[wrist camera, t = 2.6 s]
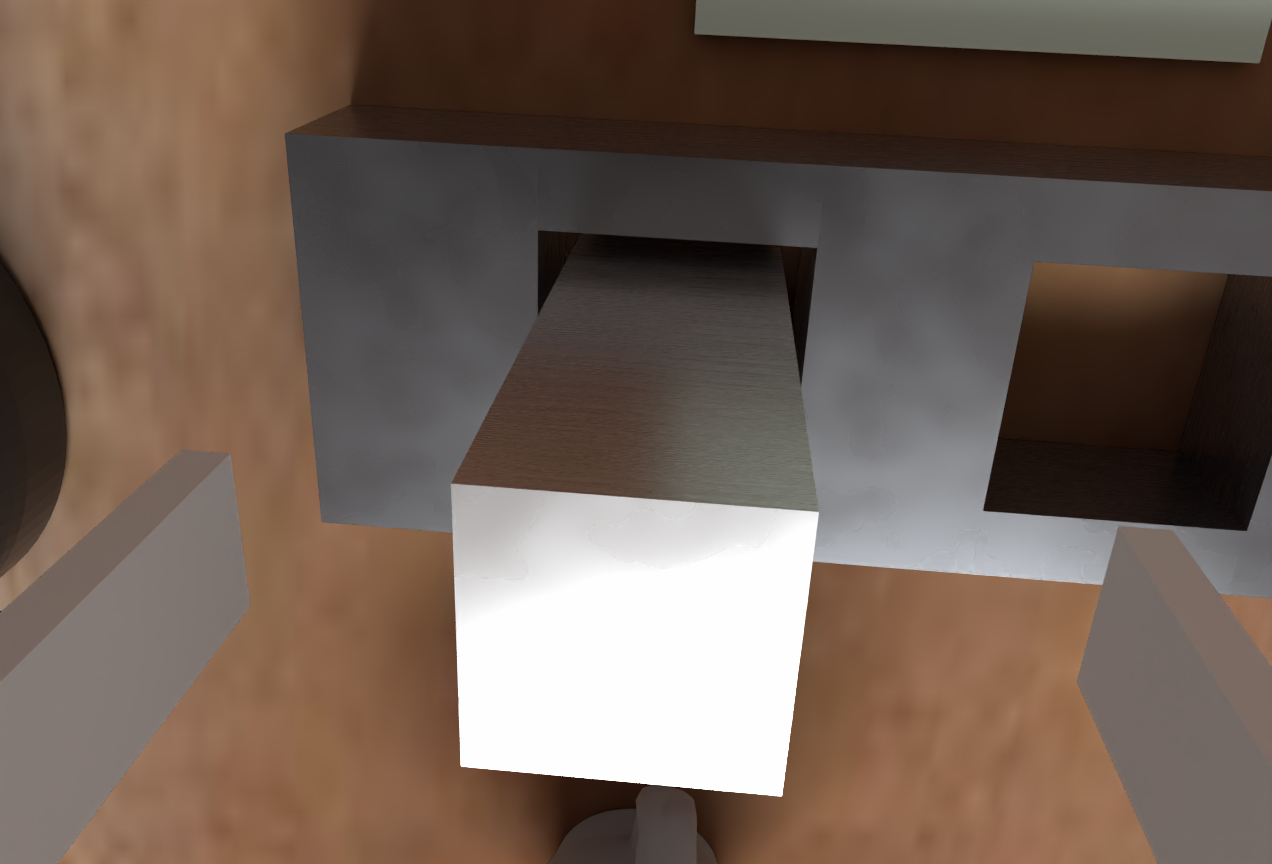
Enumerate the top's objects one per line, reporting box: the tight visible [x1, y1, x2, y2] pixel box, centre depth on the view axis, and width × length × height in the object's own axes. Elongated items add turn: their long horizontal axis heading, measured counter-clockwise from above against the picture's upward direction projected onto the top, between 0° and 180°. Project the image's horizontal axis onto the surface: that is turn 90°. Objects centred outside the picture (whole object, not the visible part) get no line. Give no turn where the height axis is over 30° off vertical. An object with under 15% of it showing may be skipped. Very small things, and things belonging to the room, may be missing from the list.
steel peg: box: [451, 233, 819, 796], centre depth 20 cm, size 4×4×14 cm
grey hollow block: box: [285, 105, 1272, 598], centre depth 25 cm, size 24×9×4 cm, turn 88°
